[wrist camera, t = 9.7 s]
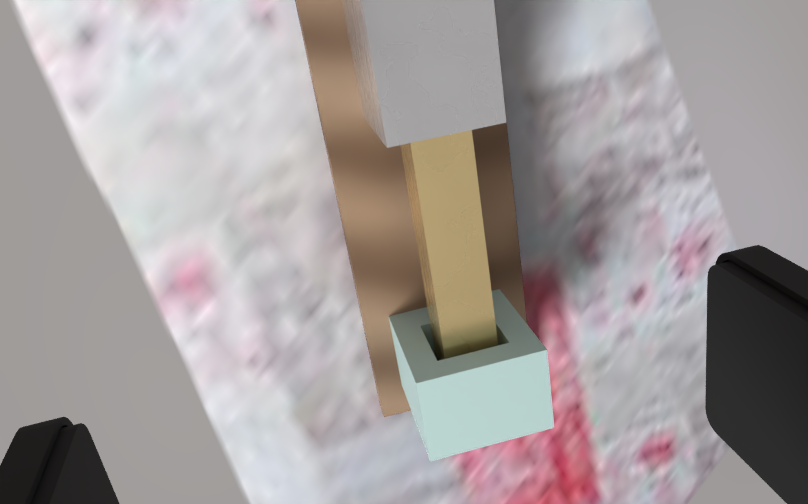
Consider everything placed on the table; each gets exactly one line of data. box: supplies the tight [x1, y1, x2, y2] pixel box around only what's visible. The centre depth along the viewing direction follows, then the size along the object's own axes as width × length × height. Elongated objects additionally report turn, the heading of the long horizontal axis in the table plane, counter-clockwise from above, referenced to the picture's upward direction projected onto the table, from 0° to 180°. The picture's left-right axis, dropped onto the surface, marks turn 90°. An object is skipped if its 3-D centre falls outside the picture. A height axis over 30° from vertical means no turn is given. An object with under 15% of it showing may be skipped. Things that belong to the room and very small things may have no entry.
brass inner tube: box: [400, 130, 498, 361], centre depth 36 cm, size 20×3×3 cm, turn 9°
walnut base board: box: [295, 0, 527, 417], centre depth 40 cm, size 34×10×2 cm, turn 9°
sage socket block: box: [389, 289, 554, 461], centre depth 41 cm, size 5×7×8 cm
